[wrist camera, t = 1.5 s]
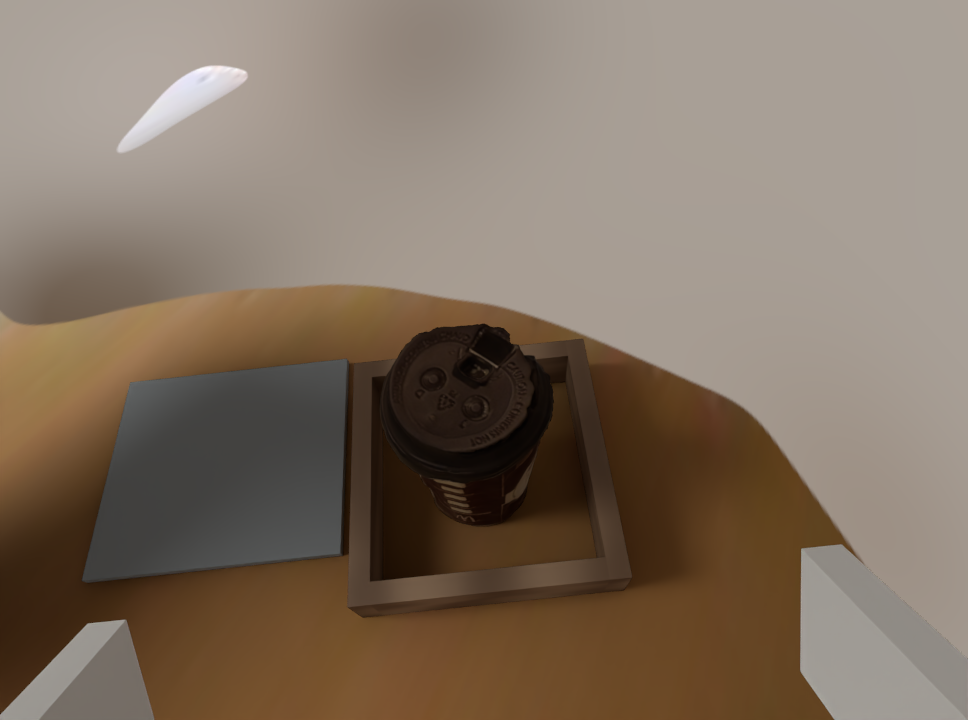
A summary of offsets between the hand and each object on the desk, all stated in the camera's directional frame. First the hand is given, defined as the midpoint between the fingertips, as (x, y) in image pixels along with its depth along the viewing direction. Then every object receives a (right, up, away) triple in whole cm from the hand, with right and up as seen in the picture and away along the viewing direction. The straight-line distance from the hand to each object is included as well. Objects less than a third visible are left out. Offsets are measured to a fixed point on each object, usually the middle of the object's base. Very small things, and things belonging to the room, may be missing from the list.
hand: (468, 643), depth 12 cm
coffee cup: (0, -2, +28) cm, 28 cm away
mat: (-17, -1, +30) cm, 34 cm away
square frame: (0, -2, +28) cm, 28 cm away
